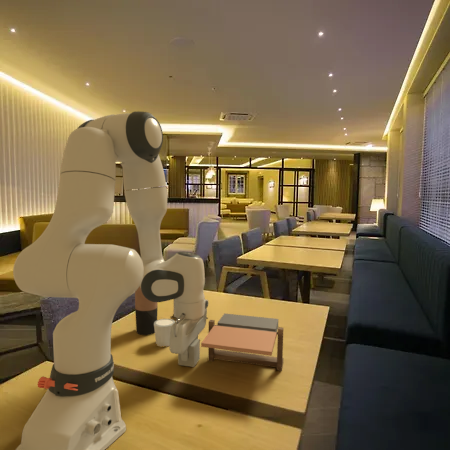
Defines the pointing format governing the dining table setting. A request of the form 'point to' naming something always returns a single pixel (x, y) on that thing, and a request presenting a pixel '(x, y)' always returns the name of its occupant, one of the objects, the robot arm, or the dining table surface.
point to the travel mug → (145, 314)
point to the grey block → (191, 354)
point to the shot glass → (163, 331)
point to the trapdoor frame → (249, 357)
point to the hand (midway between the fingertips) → (189, 354)
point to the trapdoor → (243, 334)
